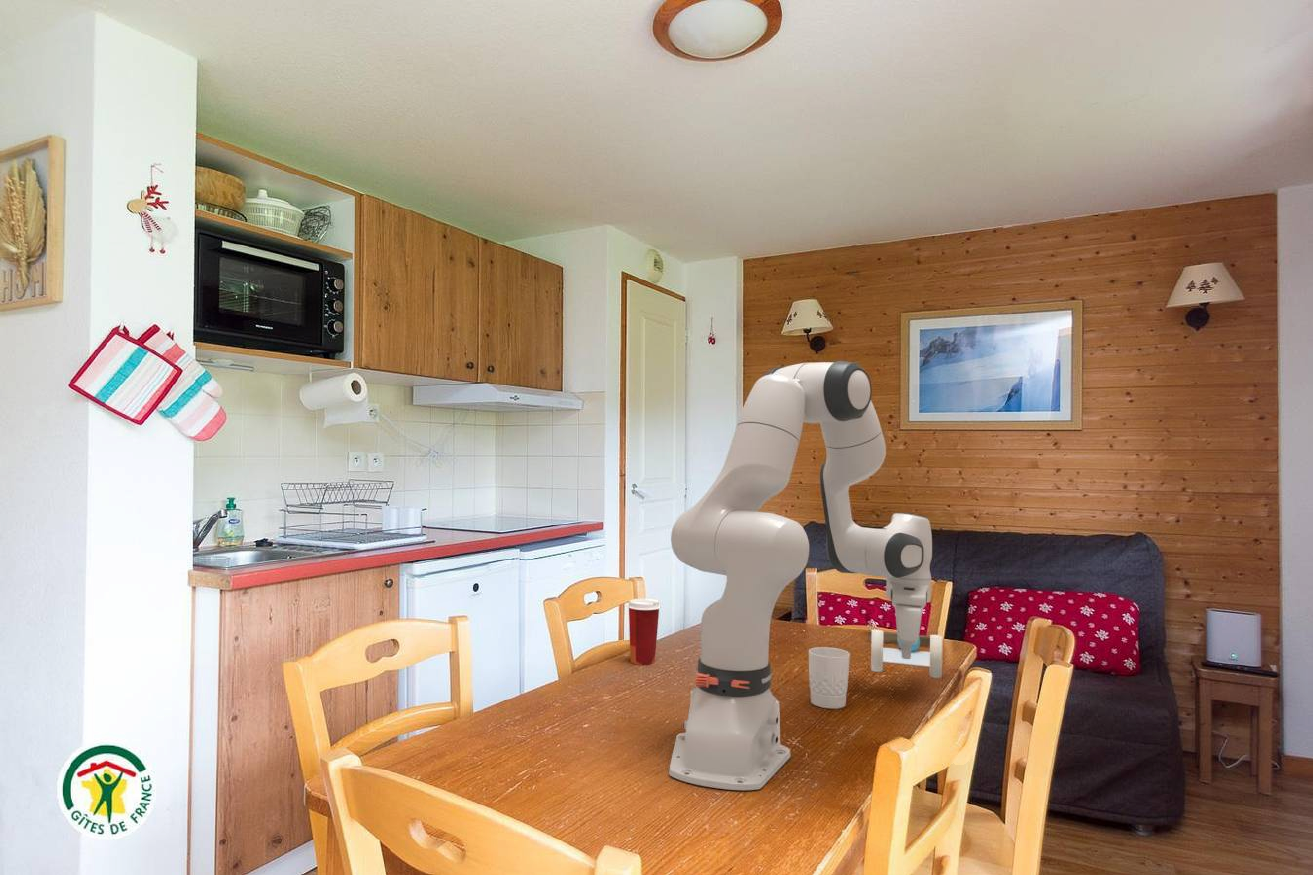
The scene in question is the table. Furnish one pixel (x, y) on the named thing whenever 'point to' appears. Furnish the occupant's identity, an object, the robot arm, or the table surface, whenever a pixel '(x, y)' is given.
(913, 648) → the ball
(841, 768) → the table surface
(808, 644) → the table surface
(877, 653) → the post left
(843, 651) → the white cup
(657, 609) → the paper cup
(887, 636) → the stopper wall
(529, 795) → the table surface
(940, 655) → the post right
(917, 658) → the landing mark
